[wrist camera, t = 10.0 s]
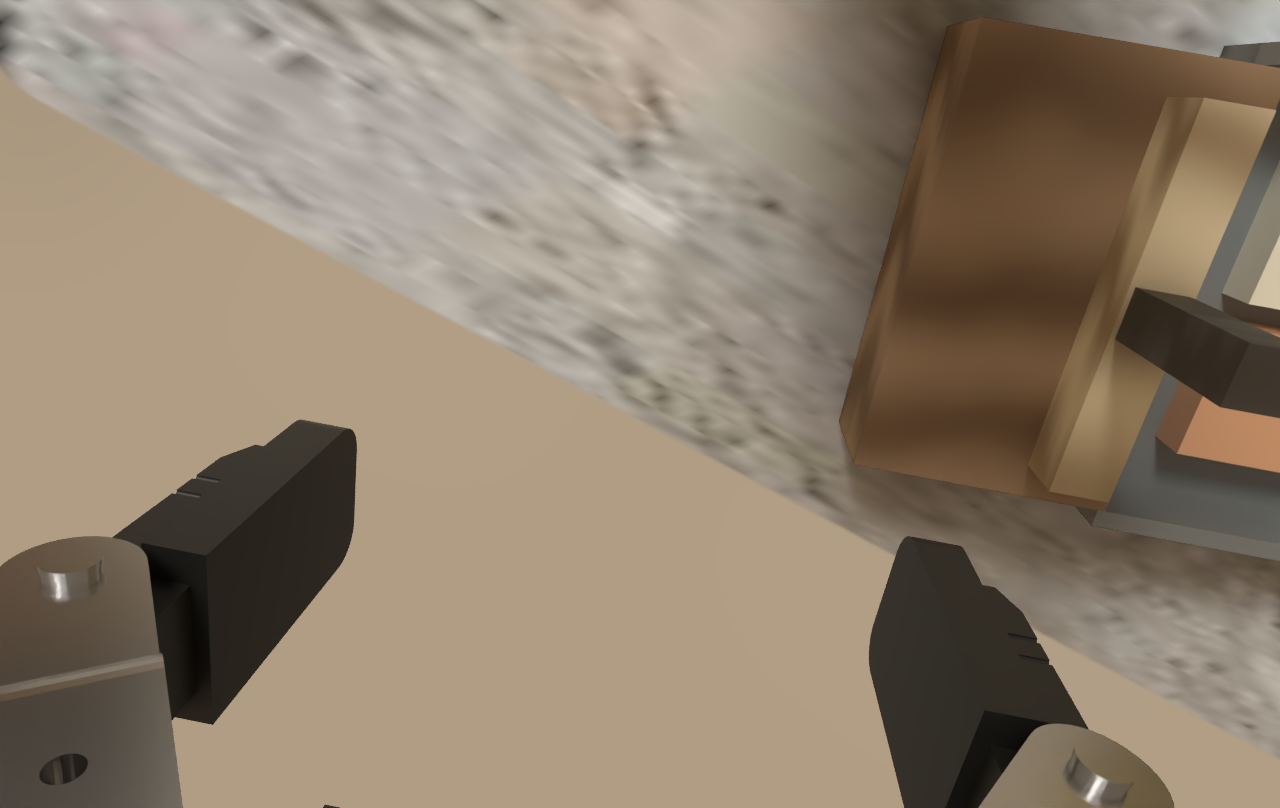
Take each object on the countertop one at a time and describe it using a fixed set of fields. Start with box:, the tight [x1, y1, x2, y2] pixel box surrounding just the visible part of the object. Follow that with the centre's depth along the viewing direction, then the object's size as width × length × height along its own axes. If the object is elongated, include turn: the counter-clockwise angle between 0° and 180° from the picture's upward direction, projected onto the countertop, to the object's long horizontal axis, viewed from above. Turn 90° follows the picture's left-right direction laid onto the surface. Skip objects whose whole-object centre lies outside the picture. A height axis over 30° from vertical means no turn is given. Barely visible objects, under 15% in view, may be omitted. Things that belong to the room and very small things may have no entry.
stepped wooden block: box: [839, 17, 1280, 512], centre depth 35 cm, size 18×11×5 cm, turn 171°
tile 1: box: [1156, 321, 1280, 473], centre depth 37 cm, size 6×6×2 cm
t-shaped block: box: [1028, 97, 1280, 503], centre depth 28 cm, size 15×2×10 cm, turn 171°
